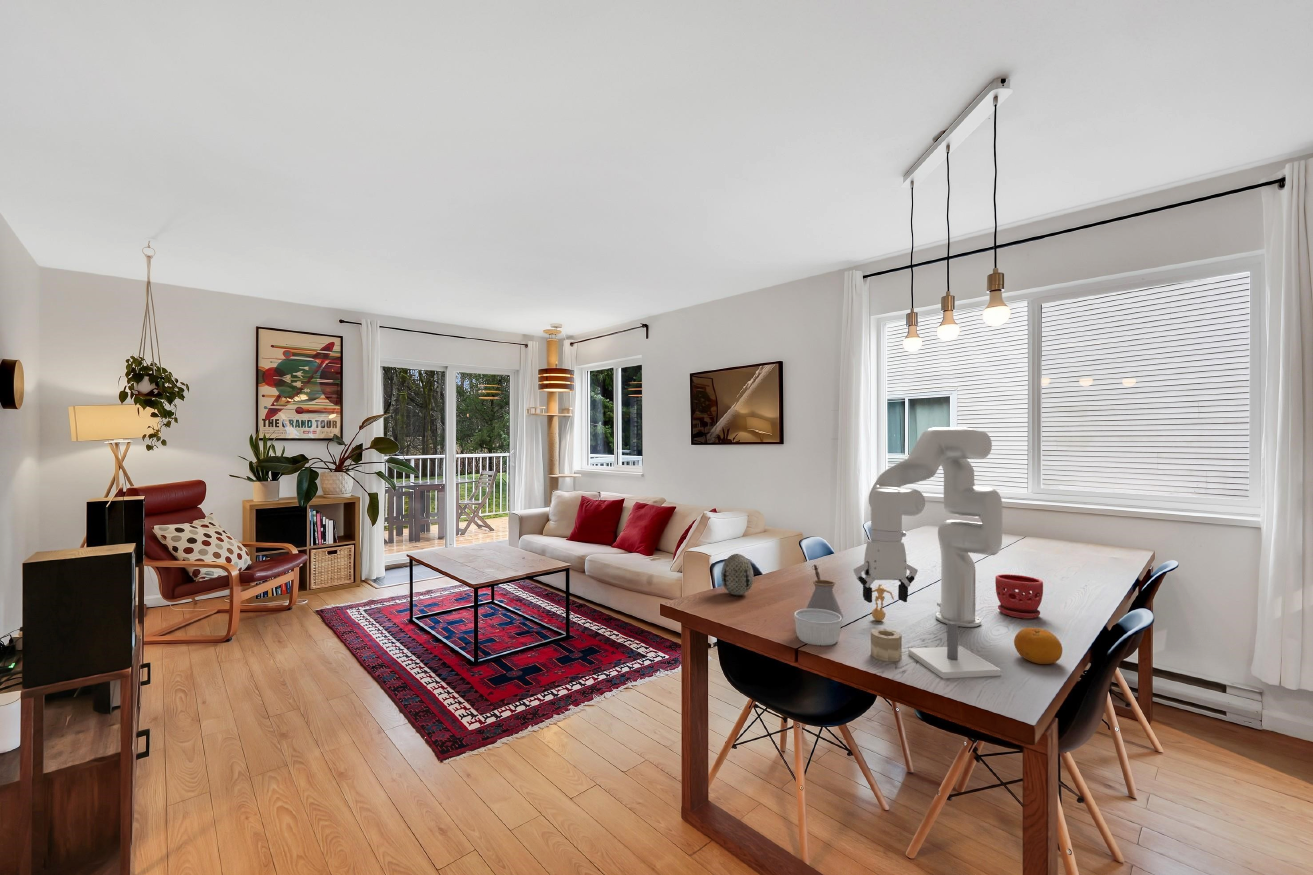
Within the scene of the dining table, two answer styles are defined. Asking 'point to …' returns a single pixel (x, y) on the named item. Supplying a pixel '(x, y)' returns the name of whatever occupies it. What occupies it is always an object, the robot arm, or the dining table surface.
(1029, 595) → the plant pot
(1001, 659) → the dining table surface
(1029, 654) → the fruit
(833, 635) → the ramekin
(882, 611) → the figurine
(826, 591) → the coffee pot
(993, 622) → the dining table surface
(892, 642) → the bead
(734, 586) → the decorative egg
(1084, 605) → the dining table surface
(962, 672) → the post board
